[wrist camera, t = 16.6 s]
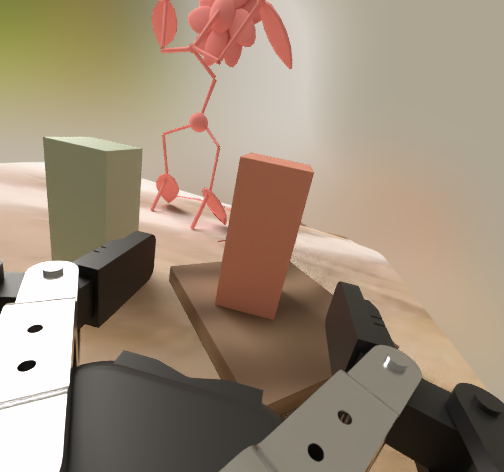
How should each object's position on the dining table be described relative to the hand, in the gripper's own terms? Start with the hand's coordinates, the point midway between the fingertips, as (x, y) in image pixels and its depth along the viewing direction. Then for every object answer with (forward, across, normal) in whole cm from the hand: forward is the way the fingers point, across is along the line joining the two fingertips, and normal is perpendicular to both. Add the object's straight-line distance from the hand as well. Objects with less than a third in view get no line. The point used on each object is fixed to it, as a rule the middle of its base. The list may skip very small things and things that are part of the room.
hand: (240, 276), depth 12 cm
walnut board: (+11, -2, +10) cm, 15 cm away
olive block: (+11, +15, +10) cm, 21 cm away
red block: (+11, 0, +8) cm, 14 cm away
